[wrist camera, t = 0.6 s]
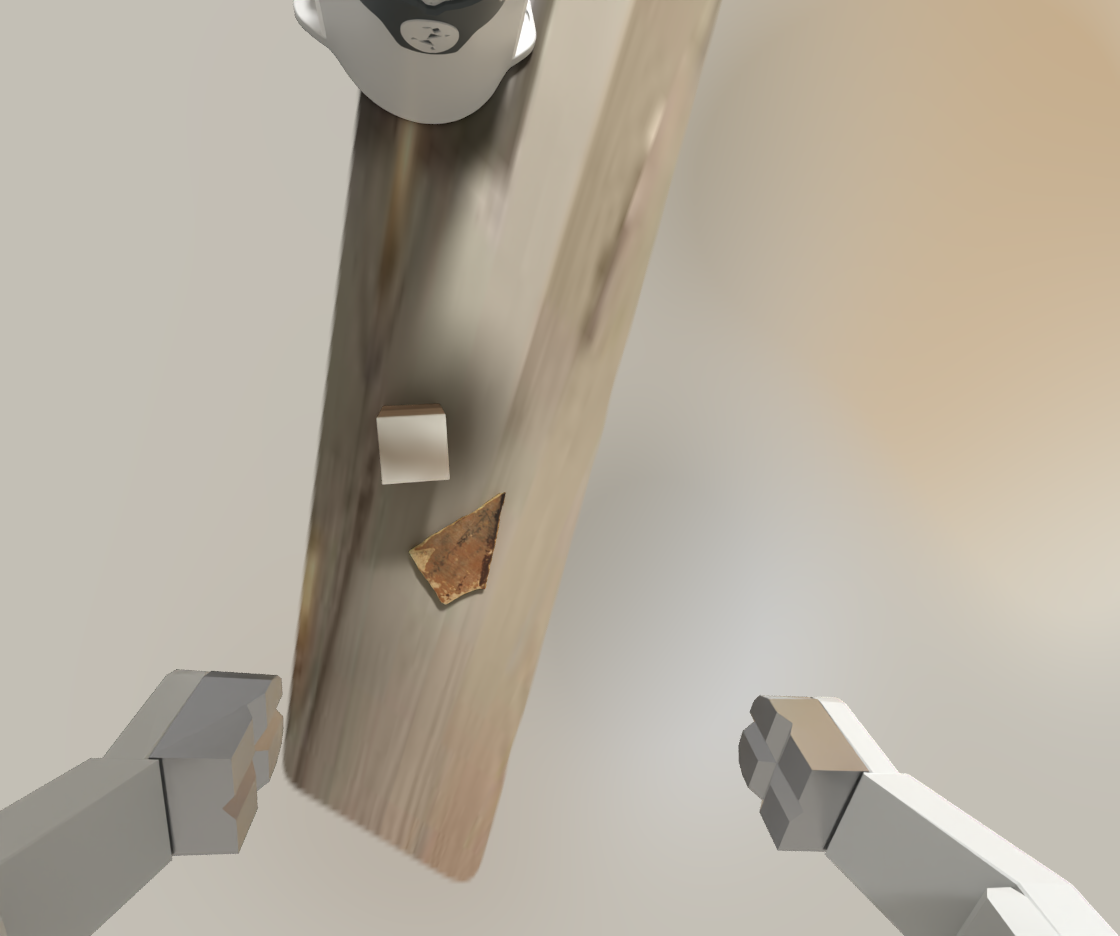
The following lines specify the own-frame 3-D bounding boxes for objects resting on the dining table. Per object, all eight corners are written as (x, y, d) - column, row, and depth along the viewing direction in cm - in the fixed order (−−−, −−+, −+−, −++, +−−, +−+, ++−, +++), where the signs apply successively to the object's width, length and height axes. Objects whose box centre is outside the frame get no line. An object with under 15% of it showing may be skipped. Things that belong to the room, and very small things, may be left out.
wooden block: (383, 406, 50) (376, 418, 41) (439, 403, 51) (445, 414, 42) (387, 460, 51) (382, 484, 42) (442, 456, 52) (449, 479, 43)
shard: (503, 488, 55) (505, 492, 53) (539, 549, 57) (543, 555, 55) (406, 545, 54) (406, 552, 52) (447, 606, 56) (448, 614, 54)
